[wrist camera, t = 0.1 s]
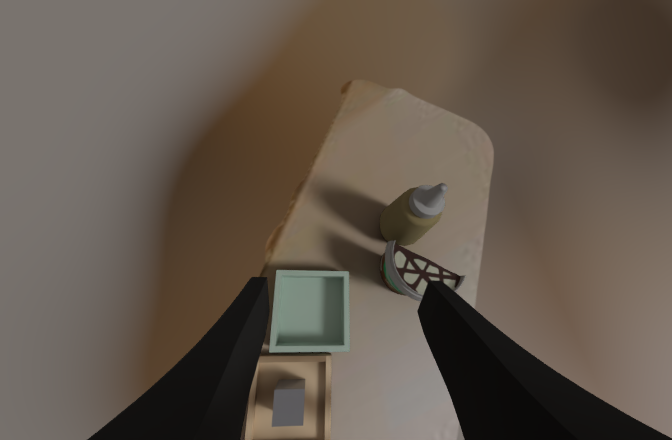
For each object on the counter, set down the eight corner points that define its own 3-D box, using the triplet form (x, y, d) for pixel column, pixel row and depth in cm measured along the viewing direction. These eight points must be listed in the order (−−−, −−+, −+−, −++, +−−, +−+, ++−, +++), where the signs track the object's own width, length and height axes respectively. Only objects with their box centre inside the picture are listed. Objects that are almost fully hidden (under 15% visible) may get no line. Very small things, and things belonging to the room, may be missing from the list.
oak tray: (329, 444, 34) (330, 451, 33) (246, 448, 33) (242, 455, 32) (330, 353, 38) (331, 355, 37) (256, 354, 37) (253, 356, 35)
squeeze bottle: (411, 210, 48) (466, 159, 31) (417, 249, 46) (481, 217, 29) (372, 210, 47) (407, 158, 30) (376, 250, 45) (417, 218, 28)
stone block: (304, 410, 35) (303, 425, 31) (276, 411, 34) (271, 426, 30) (305, 378, 36) (304, 388, 32) (278, 379, 36) (274, 389, 32)
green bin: (345, 347, 39) (349, 351, 35) (273, 347, 38) (269, 352, 34) (345, 274, 43) (348, 271, 39) (279, 272, 42) (276, 269, 38)
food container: (361, 282, 42) (375, 276, 33) (374, 252, 45) (391, 238, 35) (424, 315, 42) (457, 318, 32) (435, 283, 44) (469, 277, 34)
